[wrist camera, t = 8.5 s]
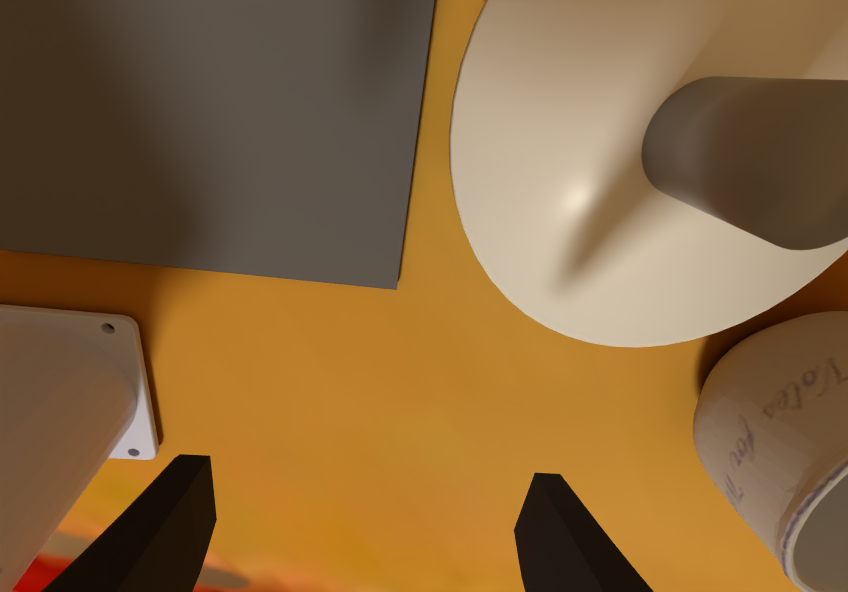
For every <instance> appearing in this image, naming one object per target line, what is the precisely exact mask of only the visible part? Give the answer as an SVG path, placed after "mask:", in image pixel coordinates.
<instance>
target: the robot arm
mask: <svg viewBox="0 0 848 592" xmlns="http://www.w3.org/2000/svg"><path fill="white" fill-rule="evenodd" d="M106 323H108V324H111V325H112V326H113V327H114V329H112V328H110V327H108V325H107V324H106ZM136 449H137V450H136ZM158 452H159V443H158V438H157V432H156V426H155V420H154V414H153V409H152V403H151V397H150V391H149V386H148V380H147V374H146V368H145V363H144V357H143V351H142V345H141V339H140V334H139V328H138V325H137V322H136V321H135V320H134V319H132V318H131V317H129V316H125V315H117V314H105V313H94V312H82V311H71V310H60V309H48V308H37V307H25V306H14V305H3V304H0V592H11V590H12V589H13V588H14V586H15V585H16V584H17V582H18V581H19V579H20V578H21V577H22V575H23V574H24V573H25V571H26V570H27V568H28V567H29V566H30V564H31V563H32V562H33V560H34V559H35V557H36V556H37V555H38V553H39V552H40V551H41V549H42V548H43V546H44V545H45V544H46V542H47V541H48V540H49V538H50V537H51V535H52V534H53V533H54V531H55V530H56V529H57V527H58V526H59V524H60V523H61V522H62V520H63V519H64V518H65V516H66V515H67V513H68V512H69V511H70V509H71V508H72V507H73V505H74V504H75V502H76V501H77V500H78V498H79V497H80V496H81V494H82V493H83V491H84V490H85V489H86V487H87V486H88V485H89V483H90V482H91V480H92V479H93V478H94V476H95V475H96V474H97V472H98V471H99V469H100V468H101V467H102V465H103V464H104V463H105V461H106V460H107V458H121V459H141V460H149V459H153V458H155V456H156V455H157V453H158ZM216 520H217V518H216V508H215V499H214V489H213V479H212V470H211V460H210V456H202V455H183V454H180V455H178V456H177V457H175V458H174V459H173V460H172V462H171V463H170V464H169V465H168V466H167V467H166V468H165V469H164V470H163V471H162V472H161V473H160V474H159V475H158V477H157V478H156V479H155V480H154V481H153V482H152V483H151V484H150V485H149V486H148V487H147V488H146V489H145V490H144V491H143V492H142V494H141V495H140V496H139V497H138V498H137V499H136V500H135V501H134V502H133V503H132V504H131V505H130V506H129V507H128V508H127V509H126V510H125V511H124V512H123V513H122V514H121V515H120V516H119V517H118V518H117V519H116V520H115V521H114V522H113V523H112V524H111V525H110V526H109V527H108V528H107V529H106V530H105V531H104V532H103V533H102V534H101V535H100V536H99V537H98V538H97V539H96V540H95V541H94V542H93V543H92V544H91V545H90V546H89V547H88V548H87V549H86V550H85V551H84V552H83V553H82V554H81V555H80V556H79V557H78V558H77V559H75V560H74V561H73V562H72V563H71V564H70V565H69V566H68V567H67V568H66V569H65V570H64V571H63V572H61V573H60V574H59V575H58V576H57V577H56V578H55V579H54V580H53V581H52V582H51V583H50V584H48V585H47V586H46V587H45V588H44V589H43V590H42V591H41V592H192V591H193V589H194V586H195V584H196V581H197V579H198V577H199V574H200V571H201V569H202V565H203V562H204V559H205V556H206V553H207V550H208V546H209V543H210V540H211V536H212V533H213V530H214V526H215V523H216ZM514 533H515V539H516V546H517V552H518V559H519V564H520V570H521V576H522V580H523V584H524V588H525V592H653V590H652V589H651V588H650V587H649V586H648V584H647V583H646V582H645V581H644V580H643V579H642V577H641V576H640V575H639V574H638V573H637V571H636V570H635V569H634V568H633V566H632V565H631V564H630V563H629V562H628V560H627V559H626V558H625V557H624V555H623V554H622V553H621V552H620V550H619V549H618V548H617V547H616V546H615V544H614V543H613V542H612V541H611V539H610V538H609V537H608V535H607V534H606V533H605V532H604V530H603V529H602V528H601V526H600V525H599V524H598V523H597V521H596V520H595V519H594V517H593V516H592V515H591V514H590V512H589V511H588V510H587V508H586V507H585V506H584V504H583V503H582V502H581V501H580V499H579V498H578V497H577V495H576V494H575V493H574V491H573V490H572V489H571V488H570V486H569V485H568V484H567V482H566V481H565V480H564V479H563V477H562V476H561V475H560V474H549V473H535V474H534V477H533V480H532V482H531V485H530V488H529V490H528V493H527V496H526V499H525V501H524V504H523V507H522V510H521V512H520V515H519V518H518V520H517V523H516V526H515V529H514Z"/></svg>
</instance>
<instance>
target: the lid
mask: <svg viewBox="0 0 848 592" xmlns="http://www.w3.org/2000/svg"><path fill="white" fill-rule="evenodd" d="M449 162H450V174H451V180H452V187H453V193H454V199H455V203H456V206H457V209H458V213H459V216H460V220H461V223H462V226H463V228H464V231H465V233H466V235H467V237H468V240H469V242H470V244H471V246H472V248H473V251H474V253H475V255H476V257H477V259H478V260H479V262H480V264H481V265H482V267H483V268H484V270H485V271H486V273H487V275H488V276H489V278H490V279H491V280H492V282H493V283H494V284H495V285H496V286H497V287H498V288H499V290H500V291H501V292H502V293H503V294H504V295H505V297H506V298H507V299H508V300H510V301H511V302H512V303H513V304H514V305H515V306H517V307H518V308H519V309H520V310H521V311H523V312H524V313H525V314H526V315H528V316H529V317H531V318H533V319H534V320H536V321H537V322H539V323H541V324H542V325H544V326H545V327H548V328H550V329H552V330H554V331H557V332H559V333H561V334H563V335H566V336H568V337H572V338H575V339H579V340H582V341H585V342H589V343H594V344H601V345H607V346H614V347H650V346H662V345H669V344H674V343H679V342H685V341H690V340H693V339H697V338H700V337H704V336H707V335H711V334H714V333H717V332H719V331H722V330H725V329H727V328H730V327H732V326H735V325H737V324H740V323H742V322H744V321H746V320H748V319H750V318H752V317H754V316H756V315H758V314H760V313H762V312H764V311H766V310H768V309H770V308H771V307H773V306H775V305H776V304H778V303H779V302H781V301H783V300H784V299H786V298H788V297H789V296H791V295H793V294H794V293H795V292H797V291H798V290H799V289H801V288H802V287H804V286H805V285H806V284H808V283H809V282H810V281H812V280H813V279H815V278H816V277H817V276H819V275H820V274H821V273H822V272H823V271H824V270H826V269H827V268H828V267H829V266H830V265H831V264H832V263H834V262H835V261H836V260H837V259H838V258H839V257H841V256H842V255H843V254H844V253H845V252H846V251H847V250H848V0H486V1H485V3H484V5H483V8H482V10H481V12H480V14H479V16H478V18H477V20H476V22H475V24H474V27H473V30H472V32H471V35H470V38H469V41H468V44H467V47H466V50H465V52H464V55H463V58H462V61H461V64H460V69H459V73H458V78H457V82H456V87H455V91H454V96H453V100H452V110H451V120H450V130H449Z"/></svg>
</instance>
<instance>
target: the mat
mask: <svg viewBox="0 0 848 592" xmlns="http://www.w3.org/2000/svg"><path fill="white" fill-rule="evenodd" d="M433 8H434V0H0V250H9V251H19V252H29V253H39V254H49V255H59V256H68V257H78V258H88V259H98V260H108V261H118V262H128V263H137V264H147V265H157V266H167V267H177V268H187V269H197V270H207V271H216V272H226V273H236V274H246V275H256V276H266V277H276V278H285V279H295V280H305V281H315V282H325V283H335V284H345V285H354V286H364V287H374V288H384V289H394V290H397V282H398V274H399V267H400V259H401V252H402V244H403V236H404V229H405V221H406V213H407V206H408V198H409V191H410V183H411V175H412V168H413V160H414V152H415V145H416V137H417V130H418V122H419V114H420V107H421V99H422V91H423V84H424V76H425V69H426V61H427V53H428V46H429V38H430V30H431V23H432V15H433Z"/></svg>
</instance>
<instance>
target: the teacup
mask: <svg viewBox="0 0 848 592" xmlns="http://www.w3.org/2000/svg"><path fill="white" fill-rule="evenodd" d="M693 438H694V444H695V447H696V450H697V453H698V456H699V458H700V460H701V462H702V464H703V466H704V468H705V470H706V471H707V473H708V474H709V476H710V477H711V479H712V480H713V482H714V483H715V485H716V486H717V487H718V489H719V490H720V491H721V492H722V494H723V495H724V496H725V497H726V499H727V500H728V501H729V503H730V504H731V505H732V506H733V508H734V509H735V510H736V511H737V512H738V514H739V515H740V516H741V517H742V519H743V520H744V521H745V522H746V523H747V524H748V526H749V527H750V528H751V529H752V530H753V532H754V533H755V534H756V535H757V536H758V537H759V538H760V540H761V541H762V542H763V543H764V544H765V545H766V547H767V548H768V549H769V550H770V551H771V552H772V554H773V555H774V556H775V557H776V558H777V559H778V561H779V562H780V564H781V566H782V568H783V571H784V573H785V575H786V576H787V577H788V578H789V579H790V580H791V581H792V583H794V584H795V585H796V586H797V587H798V588H799V589H800V590H802V591H803V592H848V311H827V312H820V313H813V314H808V315H804V316H800V317H797V318H794V319H791V320H788V321H785V322H782V323H780V324H777V325H773V326H771V327H768V328H765V329H763V330H761V331H759V332H757V333H755V334H753V335H751V336H749V337H747V338H745V339H744V340H742V341H741V342H739V343H738V344H737V345H735V346H734V347H733V348H731V349H730V350H729V351H728V352H727V353H726V354H725V355H724V356H723V357H722V358H721V359H720V360H719V361H718V363H717V364H716V365H715V366H714V368H713V369H712V371H711V372H710V374H709V376H708V377H707V379H706V381H705V383H704V386H703V388H702V391H701V395H700V397H699V399H698V403H697V406H696V410H695V413H694V421H693Z"/></svg>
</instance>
